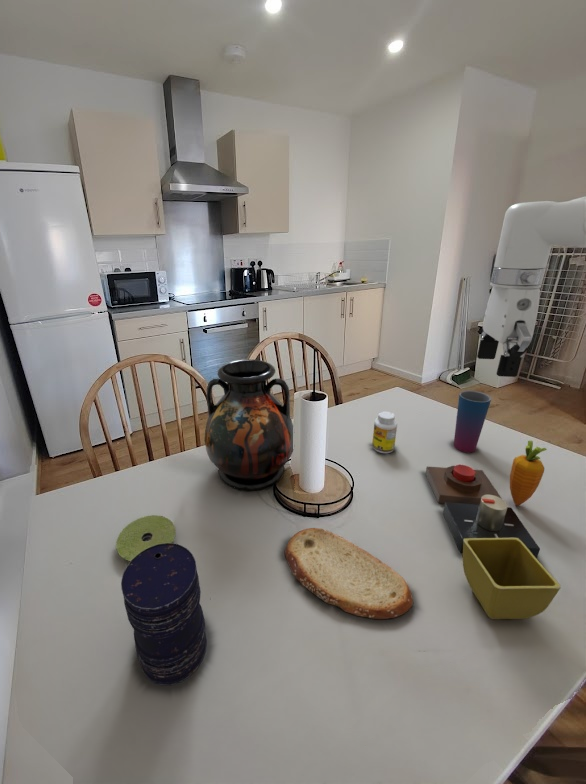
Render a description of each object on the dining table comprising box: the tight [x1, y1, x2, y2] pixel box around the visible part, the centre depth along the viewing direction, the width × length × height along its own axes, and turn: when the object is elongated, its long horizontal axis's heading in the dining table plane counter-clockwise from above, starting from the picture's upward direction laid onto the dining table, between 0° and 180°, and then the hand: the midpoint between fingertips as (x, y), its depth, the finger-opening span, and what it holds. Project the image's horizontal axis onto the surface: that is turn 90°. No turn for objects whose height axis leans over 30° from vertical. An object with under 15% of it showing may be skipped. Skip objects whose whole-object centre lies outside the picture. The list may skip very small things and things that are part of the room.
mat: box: [115, 514, 177, 562], centre depth 69 cm, size 11×11×2 cm
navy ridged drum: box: [120, 542, 207, 686], centre depth 49 cm, size 10×10×15 cm
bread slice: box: [284, 527, 414, 620], centre depth 61 cm, size 18×18×4 cm
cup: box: [453, 390, 492, 453], centre depth 92 cm, size 7×7×15 cm
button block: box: [424, 465, 503, 505], centre depth 79 cm, size 12×10×4 cm
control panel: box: [442, 502, 541, 560], centre depth 67 cm, size 12×10×3 cm
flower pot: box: [462, 538, 562, 620], centre depth 54 cm, size 9×9×9 cm
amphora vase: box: [204, 359, 294, 493], centre depth 84 cm, size 22×22×28 cm
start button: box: [453, 464, 475, 482], centre depth 78 cm, size 4×4×2 cm
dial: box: [476, 495, 509, 531], centre depth 65 cm, size 4×4×5 cm
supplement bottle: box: [371, 411, 398, 454], centre depth 94 cm, size 6×6×10 cm
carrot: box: [509, 440, 548, 506], centre depth 72 cm, size 5×5×15 cm
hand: (495, 366), depth 70 cm, fingers open, 9 cm apart
